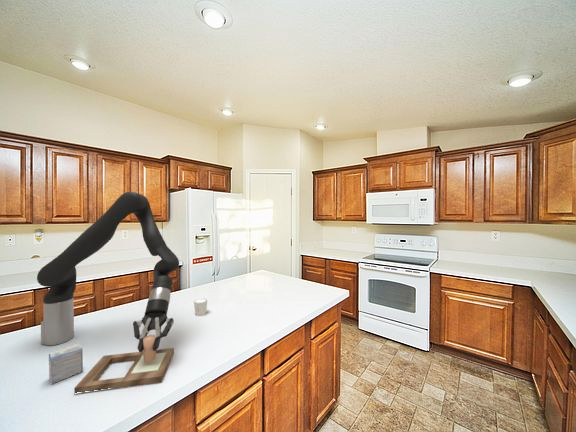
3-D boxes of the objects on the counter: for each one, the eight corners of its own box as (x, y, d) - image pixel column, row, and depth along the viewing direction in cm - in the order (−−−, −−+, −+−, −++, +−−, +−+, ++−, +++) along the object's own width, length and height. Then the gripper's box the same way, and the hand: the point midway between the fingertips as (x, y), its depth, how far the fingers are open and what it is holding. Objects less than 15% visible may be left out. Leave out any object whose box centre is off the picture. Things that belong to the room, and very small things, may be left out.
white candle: (193, 317, 123) (193, 303, 123) (194, 311, 129) (194, 298, 129) (206, 315, 125) (206, 302, 125) (207, 310, 131) (207, 297, 131)
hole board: (74, 394, 71) (74, 386, 71) (103, 361, 87) (103, 354, 87) (161, 382, 76) (161, 375, 76) (174, 353, 92) (174, 347, 92)
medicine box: (80, 366, 84) (80, 342, 83) (83, 372, 81) (82, 347, 80) (48, 379, 77) (48, 353, 77) (50, 385, 75) (50, 358, 74)
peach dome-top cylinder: (141, 362, 80) (141, 341, 80) (145, 356, 84) (145, 335, 84) (153, 361, 81) (153, 340, 81) (157, 354, 85) (157, 334, 85)
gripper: (135, 299, 88) (120, 350, 76) (176, 296, 91) (167, 345, 79) (141, 307, 93) (127, 356, 82) (179, 304, 96) (172, 351, 85)
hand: (147, 350), depth 81 cm, fingers closed on peach dome-top cylinder, 3 cm apart
